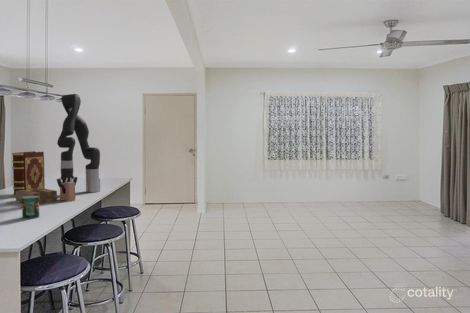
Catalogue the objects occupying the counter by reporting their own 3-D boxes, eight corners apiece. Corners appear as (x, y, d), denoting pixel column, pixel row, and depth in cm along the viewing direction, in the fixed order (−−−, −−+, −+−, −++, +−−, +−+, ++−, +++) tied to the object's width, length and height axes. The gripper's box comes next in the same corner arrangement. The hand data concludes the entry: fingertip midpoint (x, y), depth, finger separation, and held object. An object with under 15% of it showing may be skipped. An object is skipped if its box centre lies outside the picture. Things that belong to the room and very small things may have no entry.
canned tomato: (19, 217, 188) (19, 196, 187) (35, 214, 194) (35, 194, 194) (26, 219, 183) (25, 198, 182) (42, 217, 189) (41, 196, 189)
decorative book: (21, 197, 243) (20, 153, 240) (11, 196, 244) (9, 152, 242) (45, 191, 264) (44, 151, 262) (35, 191, 266) (34, 151, 264)
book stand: (40, 197, 244) (40, 187, 243) (57, 200, 232) (56, 190, 232) (15, 200, 230) (15, 190, 230) (31, 204, 219) (31, 194, 219)
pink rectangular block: (65, 198, 241) (65, 180, 240) (75, 200, 235) (74, 182, 234) (60, 199, 238) (59, 181, 237) (69, 201, 232) (69, 182, 231)
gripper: (73, 166, 243) (74, 191, 244) (53, 167, 231) (53, 194, 232) (80, 166, 239) (80, 192, 240) (59, 168, 227) (60, 195, 228)
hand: (67, 193), depth 236 cm, fingers closed on pink rectangular block, 4 cm apart
